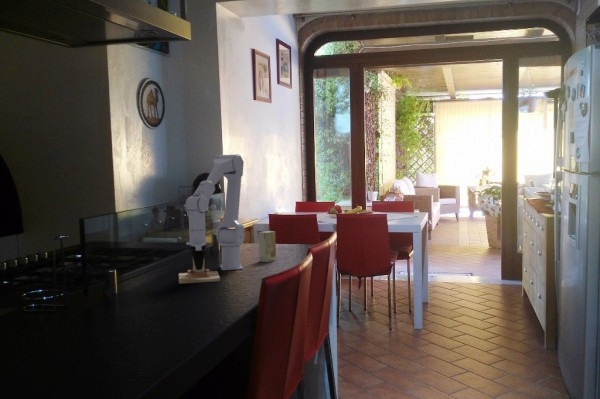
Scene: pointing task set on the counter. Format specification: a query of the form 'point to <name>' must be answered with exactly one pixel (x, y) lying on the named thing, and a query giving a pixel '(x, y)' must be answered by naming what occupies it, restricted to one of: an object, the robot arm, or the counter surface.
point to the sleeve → (198, 270)
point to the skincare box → (267, 246)
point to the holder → (198, 277)
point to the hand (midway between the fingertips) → (198, 267)
